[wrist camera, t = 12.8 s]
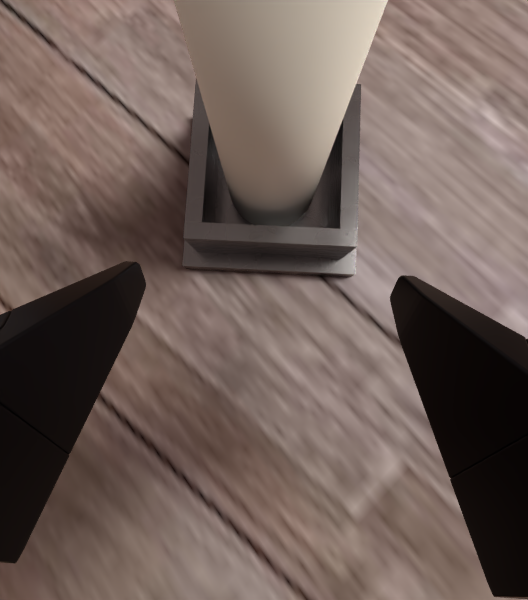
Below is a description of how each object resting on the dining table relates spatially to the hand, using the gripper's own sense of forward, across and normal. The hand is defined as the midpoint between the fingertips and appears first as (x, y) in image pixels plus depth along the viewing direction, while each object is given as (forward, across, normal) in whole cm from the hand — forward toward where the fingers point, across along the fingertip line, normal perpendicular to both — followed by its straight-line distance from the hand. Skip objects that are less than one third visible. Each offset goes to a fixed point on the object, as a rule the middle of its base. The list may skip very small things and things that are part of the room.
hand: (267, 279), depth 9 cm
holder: (+12, 0, +1) cm, 12 cm away
